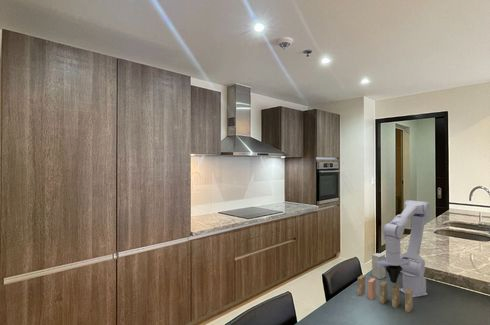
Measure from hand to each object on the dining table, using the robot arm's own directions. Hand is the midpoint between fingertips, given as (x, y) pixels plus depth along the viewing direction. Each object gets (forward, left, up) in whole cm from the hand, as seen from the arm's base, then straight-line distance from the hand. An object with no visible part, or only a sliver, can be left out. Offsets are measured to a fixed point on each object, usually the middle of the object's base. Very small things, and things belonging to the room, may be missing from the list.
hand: (393, 282), depth 118 cm
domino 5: (-3, +5, -10) cm, 12 cm away
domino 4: (0, +1, -10) cm, 10 cm away
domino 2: (+5, -8, -10) cm, 13 cm away
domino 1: (+7, -12, -10) cm, 17 cm away
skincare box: (-14, -25, -10) cm, 30 cm away
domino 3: (+2, -3, -10) cm, 11 cm away
